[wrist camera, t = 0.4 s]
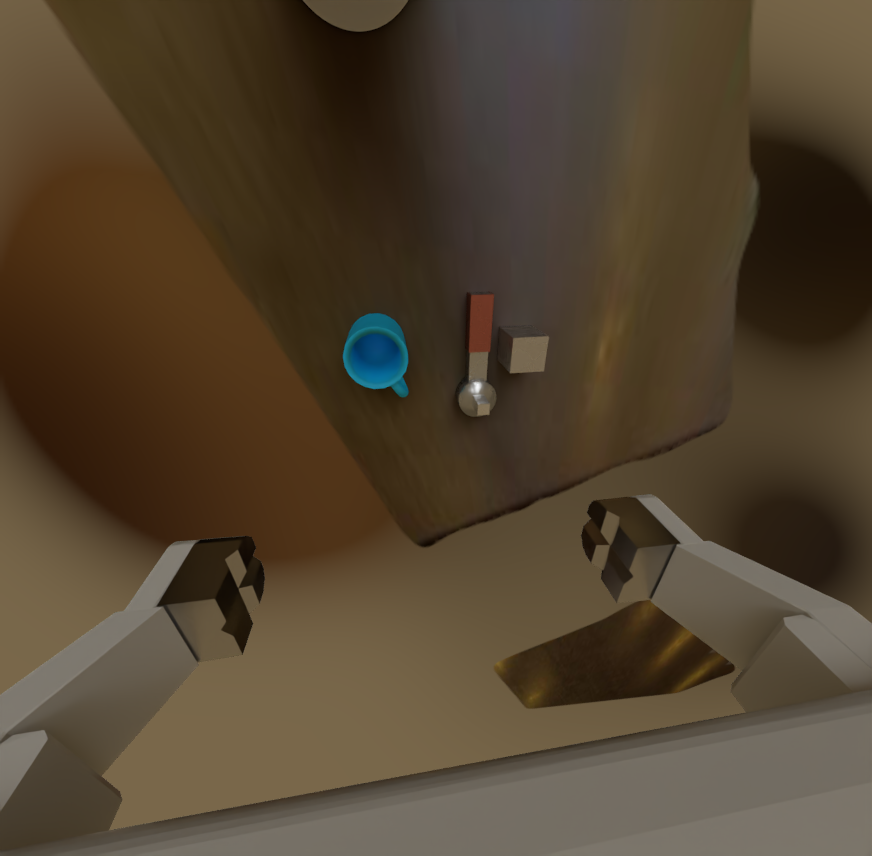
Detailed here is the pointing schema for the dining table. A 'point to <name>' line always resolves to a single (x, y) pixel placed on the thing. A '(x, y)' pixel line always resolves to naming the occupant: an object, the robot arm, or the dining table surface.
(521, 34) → the dining table surface
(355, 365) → the mug
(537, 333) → the brushed steel block
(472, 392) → the ratchet
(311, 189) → the dining table surface
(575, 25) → the dining table surface
